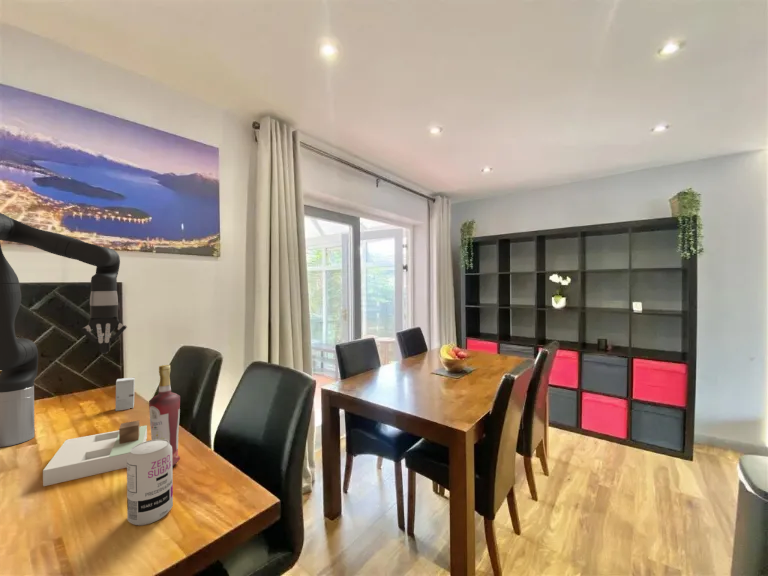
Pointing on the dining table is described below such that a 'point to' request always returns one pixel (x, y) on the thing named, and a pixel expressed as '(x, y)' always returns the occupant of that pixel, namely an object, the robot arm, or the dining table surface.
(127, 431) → the walnut block
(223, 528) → the dining table surface
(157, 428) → the liquor
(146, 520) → the supplement can
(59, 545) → the dining table surface
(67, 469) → the trap plank
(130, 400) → the skincare box
